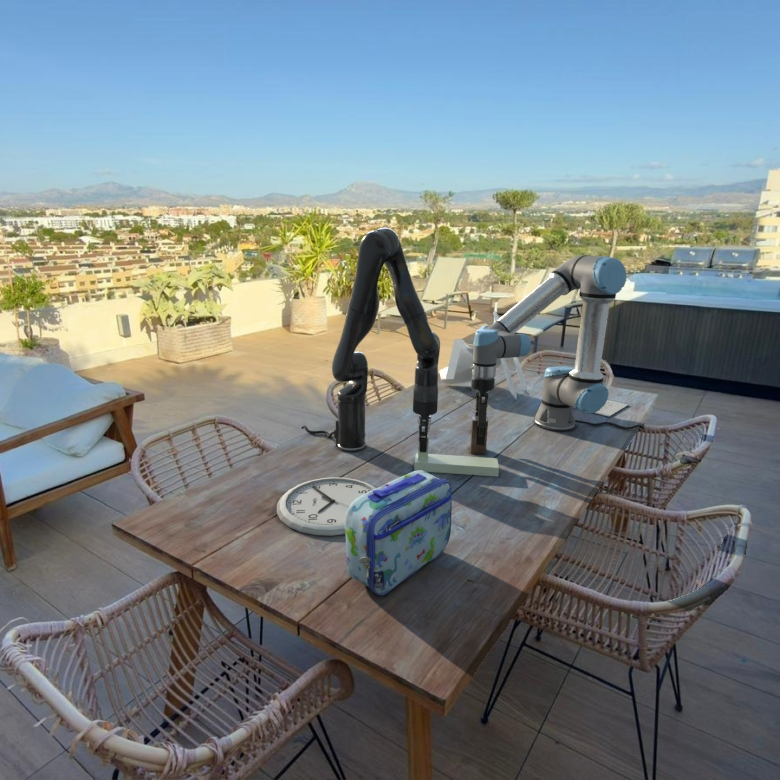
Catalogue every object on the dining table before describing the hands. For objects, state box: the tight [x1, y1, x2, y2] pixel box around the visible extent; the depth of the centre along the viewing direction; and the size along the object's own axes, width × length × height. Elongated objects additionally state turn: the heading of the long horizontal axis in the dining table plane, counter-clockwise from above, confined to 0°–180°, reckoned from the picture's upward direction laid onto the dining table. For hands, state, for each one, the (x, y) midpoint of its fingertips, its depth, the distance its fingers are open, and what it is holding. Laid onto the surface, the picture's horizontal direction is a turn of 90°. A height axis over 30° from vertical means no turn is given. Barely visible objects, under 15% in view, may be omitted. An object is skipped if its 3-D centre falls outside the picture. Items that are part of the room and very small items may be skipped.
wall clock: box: [276, 476, 377, 537], centre depth 142 cm, size 30×2×30 cm
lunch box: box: [344, 470, 453, 596], centre depth 114 cm, size 26×11×21 cm, turn 135°
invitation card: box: [594, 399, 629, 418], centre depth 226 cm, size 21×1×15 cm
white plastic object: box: [438, 310, 531, 400], centre depth 245 cm, size 37×45×31 cm
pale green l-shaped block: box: [413, 433, 500, 478], centre depth 164 cm, size 26×7×11 cm, turn 83°
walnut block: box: [469, 415, 489, 455], centre depth 177 cm, size 5×5×12 cm
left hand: (423, 448), depth 165 cm, fingers closed on pale green l-shaped block, 4 cm apart
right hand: (479, 437), depth 178 cm, fingers open, 13 cm apart
